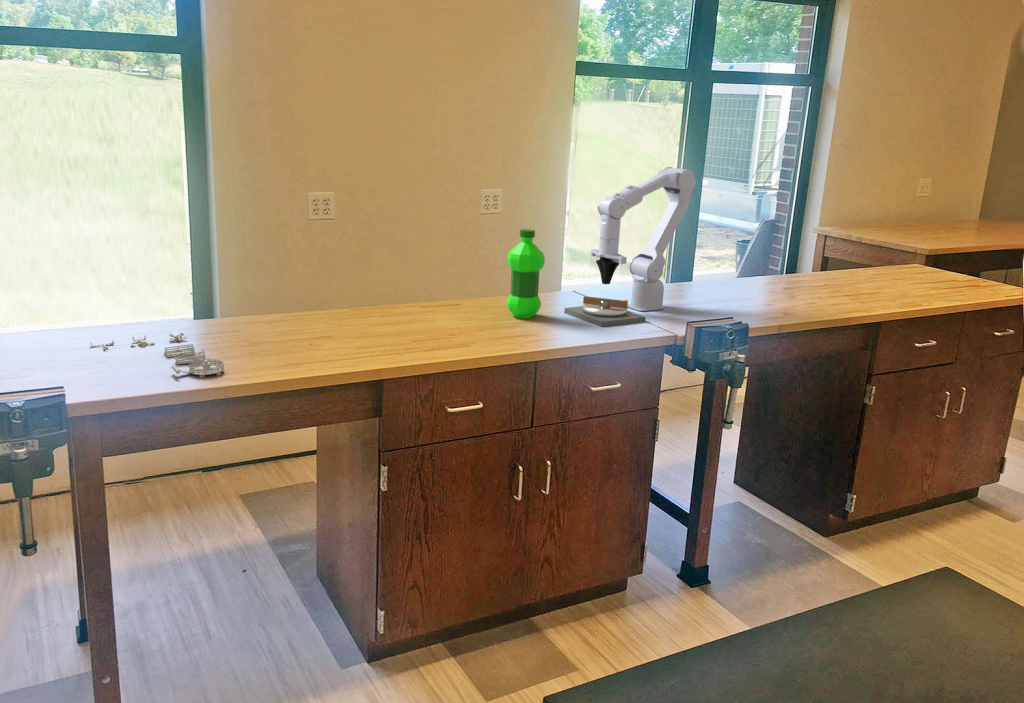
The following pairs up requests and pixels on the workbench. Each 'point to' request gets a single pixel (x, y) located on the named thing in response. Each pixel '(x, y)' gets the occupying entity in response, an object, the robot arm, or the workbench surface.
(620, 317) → the stand plate
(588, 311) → the dial
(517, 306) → the plastic bottle
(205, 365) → the drone parts
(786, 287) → the workbench surface
